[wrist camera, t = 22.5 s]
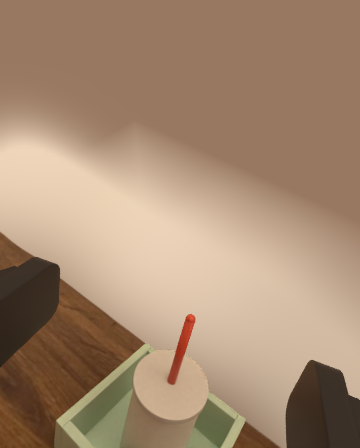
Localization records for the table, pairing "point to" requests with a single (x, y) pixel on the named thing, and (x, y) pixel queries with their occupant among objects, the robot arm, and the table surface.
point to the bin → (118, 408)
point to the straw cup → (165, 397)
